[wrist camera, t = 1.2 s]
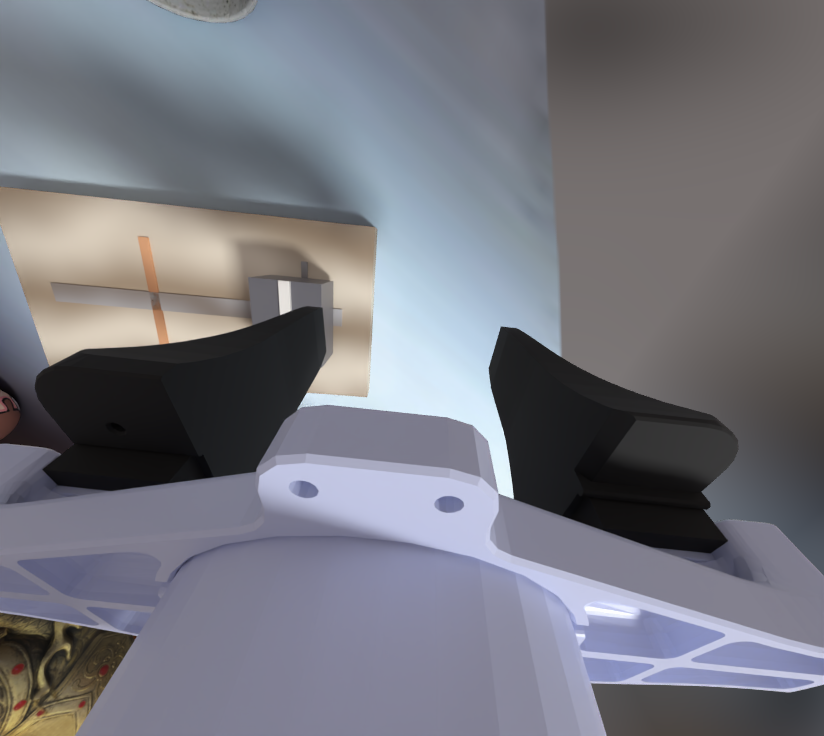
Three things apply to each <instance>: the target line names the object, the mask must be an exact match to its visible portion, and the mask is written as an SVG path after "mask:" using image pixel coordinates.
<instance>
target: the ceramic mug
mask: <svg viewBox="0 0 824 736" xmlns="http://www.w3.org/2000/svg"><path fill="white" fill-rule="evenodd" d="M148 1H150V2H152V3H154V4H155V5H157V6H159V7H161V8H164V9H166V10H168V11H170V12H173V13H175V14H177V15H180V16H183V17H187V18H191V19H195V20H199V21H206V22H212V23H227V22H234V21H237V20H240V19H243V18H245V17H246V16H247V15H248V14H250V13H251V12H252V11H253V10H254V8H255V6H256V4H257V1H258V0H148Z"/></svg>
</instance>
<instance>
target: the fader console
mask: <svg viewBox="0 0 824 736" xmlns="http://www.w3.org/2000/svg"><path fill="white" fill-rule="evenodd" d="M0 225H1V228H2V231H3V234H4V236H5V239H6V242H7V245H8V248H9V251H10V254H11V257H12V260H13V262H14V265H15V268H16V271H17V274H18V277H19V280H20V283H21V286H22V288H23V291H24V294H25V297H26V300H27V303H28V306H29V309H30V311H31V314H32V317H33V320H34V323H35V326H36V329H37V332H38V335H39V337H40V340H41V343H42V346H43V349H44V352H45V355H46V358H47V361H48V363H49V366H51V365H53V364H55V363H57V362H59V361H61V360H63V359H65V358H67V357H69V356H71V355H73V354H75V353H76V352H78V351H81V350H84V349H97V348H118V347H136V346H148V345H158V344H167V343H175V342H183V341H188V340H194V339H200V338H205V337H211V336H215V335H220V334H224V333H228V332H232V331H236V330H239V329H242V328H246V327H249V326H252V315H251V304H250V293H249V282H248V277H255V276H264V275H279V276H289V277H300V278H310V279H320V280H330V281H333V354H332V355H331V357H330V358H329V359H328V361H327V362H326V363H325V365H324V366H323V367H322V368H320V370H319V372H318V374H317V376H316V377H315V379H314V381H313V383H312V384H311V386H310V388H309V390H308V391H307V393H319V394H333V395H346V396H359V397H367V395H368V392H369V382H370V362H371V343H372V323H373V303H374V283H375V264H376V244H377V229H376V228H375V227H369V226H360V225H351V224H341V223H332V222H323V221H314V220H304V219H295V218H286V217H277V216H267V215H258V214H249V213H240V212H230V211H221V210H212V209H203V208H193V207H184V206H175V205H166V204H156V203H147V202H138V201H129V200H119V199H110V198H101V197H92V196H82V195H73V194H64V193H55V192H45V191H36V190H27V189H18V188H8V187H0Z"/></svg>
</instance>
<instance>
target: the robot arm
mask: <svg viewBox="0 0 824 736" xmlns="http://www.w3.org/2000/svg"><path fill="white" fill-rule="evenodd" d="M325 354H326V340H325V329H324V318H323V308H322V307H312V306H305V307H301V308H298V309H295V310H292V311H290V312H287V313H284V314H282V315H279V316H277V317H274V318H271V319H269V320H266V321H263V322H260V323H257V324H254V325H252V326H249V327H246V328H242V329H239V330H236V331H232V332H228V333H224V334H220V335H215V336H211V337H205V338H200V339H194V340H188V341H183V342H175V343H167V344H158V345H148V346H136V347H118V348H97V349H84V350H81V351H78V352H76V353H75V354H73V355H71V356H69V357H67V358H65V359H63V360H61V361H59V362H57V363H55V364H53V365H51V366H50V367H48V368H46V369H44V370H43V371H42V372H41V373H40V374H39V375H38V376H37V377H36V382H35V390H36V393H37V396H38V399H39V401H40V402H41V404H42V405H43V407H44V408H45V409H46V411H47V412H48V413H49V414H50V415H51V417H52V418H53V419H54V420H55V421H56V423H57V424H58V425H59V426H60V427H61V429H62V430H63V431H64V432H65V433H66V435H67V436H68V437H69V438H70V439H71V440H72V442H73V443H76V444H74V445H73V446H72V447H70V448H69V449H68V450H66V451H65V452H64V453H63V454H60V453H58V452H56V451H54V450H52V449H48V448H43V447H34V446H24V445H15V444H0V613H7V614H14V615H21V616H28V617H34V618H40V619H46V620H52V621H58V622H64V623H69V624H75V625H80V626H86V627H91V628H97V629H102V630H108V631H113V632H119V633H124V634H130V635H135V636H137V638H136V639H135V641H134V642H133V644H132V646H131V647H130V649H129V650H128V652H127V654H126V655H125V657H124V658H123V660H122V662H121V663H120V665H119V666H118V668H117V669H116V671H115V673H114V674H113V676H112V677H111V679H110V681H109V682H108V684H107V685H106V687H105V689H104V690H103V692H102V693H101V695H100V697H99V698H98V700H97V701H96V703H95V704H94V706H93V708H92V709H91V711H90V712H89V714H88V716H87V717H86V719H85V720H84V722H83V724H82V725H81V727H80V728H79V730H78V732H77V733H76V735H75V736H606V732H605V729H604V726H603V722H602V719H601V716H600V713H599V709H598V706H597V703H596V700H595V696H594V693H593V690H592V687H591V683H606V684H653V685H654V684H655V685H688V686H713V687H731V688H747V689H758V690H771V691H781V692H794V691H798V690H802V689H807V688H810V687H815V686H819V685H824V576H823V575H822V574H821V573H820V572H819V570H817V568H816V567H815V566H814V565H813V564H812V563H811V562H810V561H809V560H808V559H807V558H806V557H805V556H804V555H803V554H802V553H801V552H800V551H799V550H798V549H797V548H796V546H795V545H794V544H792V542H791V541H790V540H789V539H788V538H787V537H786V536H785V535H784V534H783V533H782V532H781V531H780V530H779V529H778V528H777V527H776V526H775V525H773V524H769V523H761V522H751V521H742V520H732V519H731V520H720V521H717V522H713V521H712V520H711V519H710V517H709V516H708V515H707V514H706V512H705V511H704V510H703V509H706V510H707V509H708V508H710V502H709V501H708V500H707V499H706V497H705V496H704V495H703V494H702V492H701V491H702V490H704V489H705V488H706V487H707V486H708V485H709V484H710V483H711V482H713V481H714V480H715V479H716V478H717V477H718V476H719V475H720V474H721V473H723V471H725V470H726V469H727V468H728V466H729V465H730V464H731V463H732V462H733V461H734V458H735V456H736V454H737V452H738V440H737V438H736V437H735V435H734V434H733V432H731V431H730V430H729V429H728V428H727V427H726V426H725V425H724V424H722V423H721V422H720V421H719V420H718V419H717V418H715V417H714V416H712V415H710V414H706V413H702V412H699V411H694V410H691V409H687V408H684V407H680V406H676V405H673V404H669V403H665V402H662V401H659V400H656V399H653V398H650V397H647V396H644V395H641V394H638V393H635V392H633V391H630V390H627V389H625V388H622V387H620V386H617V385H615V384H612V383H610V382H607V381H605V380H603V379H601V378H598V377H596V376H594V375H592V374H590V373H588V372H586V371H584V370H582V369H580V368H579V367H577V366H575V365H573V364H571V363H570V362H568V361H566V360H565V359H563V358H562V357H560V356H558V355H557V354H555V353H554V352H552V351H551V350H549V349H548V348H546V347H545V346H543V345H542V344H540V343H539V342H537V341H536V340H535V339H533V338H532V337H530V336H529V335H527V334H526V333H524V332H522V331H521V330H519V329H517V328H509V327H501V328H500V332H499V335H498V339H497V342H496V345H495V349H494V352H493V356H492V359H491V363H490V366H489V375H490V383H491V389H492V393H493V397H494V400H495V404H496V407H497V410H498V414H499V417H500V420H501V424H502V427H503V431H504V435H505V439H506V444H507V450H508V456H509V463H510V470H511V477H512V484H513V493H514V499H512V498H509V497H506V496H503V495H500V494H498V489H497V484H496V479H495V474H494V469H493V464H492V460H491V455H490V450H489V445H488V441H487V440H486V439H485V438H484V437H483V436H482V435H481V434H480V433H479V432H478V430H477V429H476V428H475V427H474V426H472V425H469V424H466V423H463V422H460V421H457V420H453V419H450V418H447V417H437V416H428V415H418V414H409V413H399V412H390V411H380V410H371V409H361V408H352V407H342V406H333V405H322V406H312V407H302V408H300V409H299V410H297V409H298V407H299V405H300V403H301V402H302V400H303V398H304V396H305V395H306V393H307V391H308V390H309V388H310V386H311V384H312V383H313V381H314V379H315V377H316V376H317V374H318V372H319V370H320V368H321V365H322V363H323V360H324V357H325ZM296 410H297V411H296Z"/></svg>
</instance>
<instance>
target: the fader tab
mask: <svg viewBox="0 0 824 736" xmlns="http://www.w3.org/2000/svg"><path fill="white" fill-rule="evenodd" d="M248 282H249V293H250V304H251V315H252V325H254V324H257V323H260V322H263V321H266V320H269V319H271V318H274V317H277V316H279V315H282V314H284V313H287V312H290V311H292V310H295V309H298V308H301V307H305V306H312V307H322V308H323V318H324V329H325V340H326V354H325V357H324V360H323V363H322V365H321V368H322V367H323V366H324V365H325V363H326V362H327V361H328V359H329V358H330V357H331V355H332V354H333V281H330V280H320V279H310V278H300V277H289V276H279V275H264V276H255V277H248Z"/></svg>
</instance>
